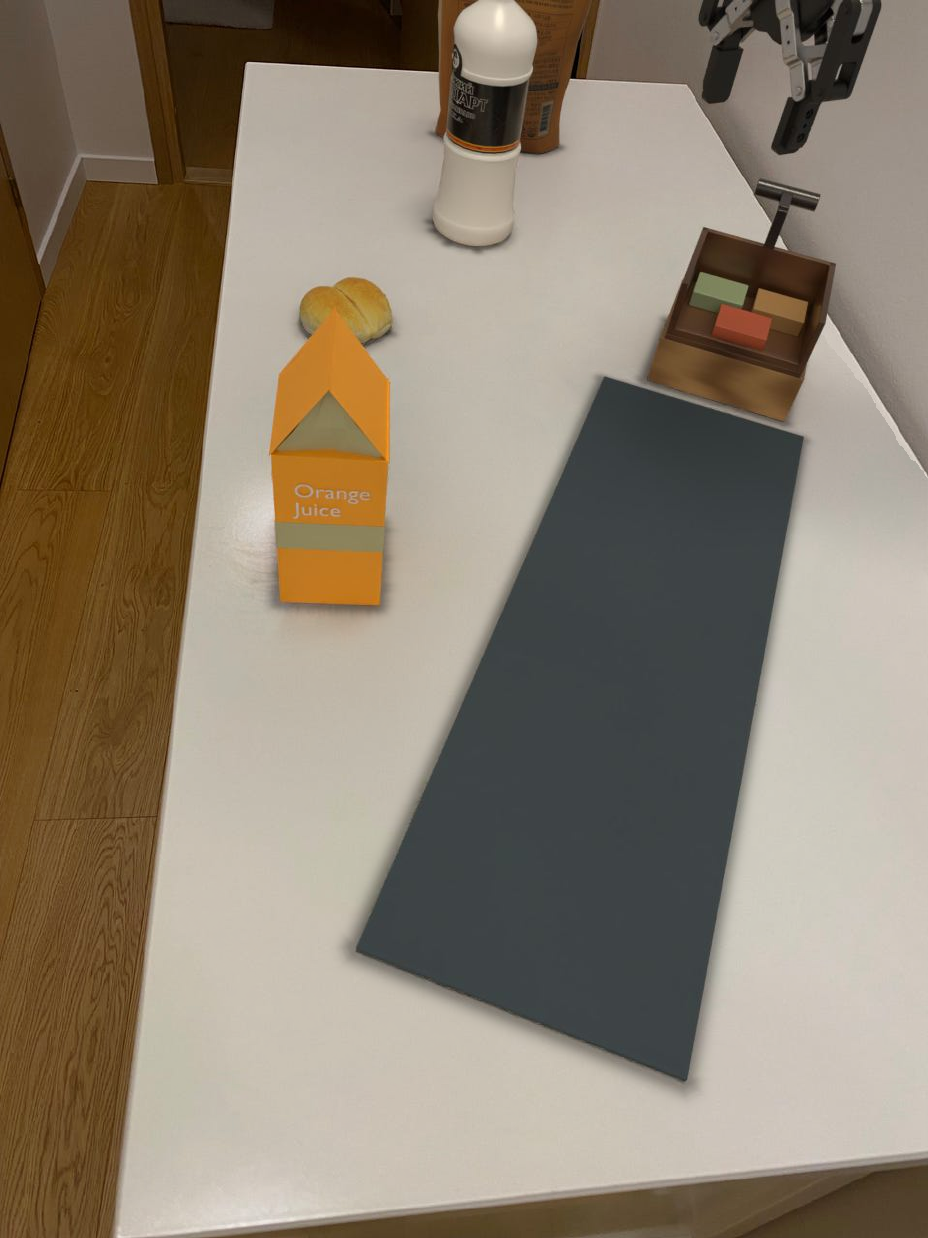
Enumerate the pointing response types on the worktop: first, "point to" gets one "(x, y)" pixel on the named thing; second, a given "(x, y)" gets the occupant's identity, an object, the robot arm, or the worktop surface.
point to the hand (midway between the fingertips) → (747, 125)
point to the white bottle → (484, 122)
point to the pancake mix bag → (559, 21)
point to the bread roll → (349, 307)
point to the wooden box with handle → (758, 271)
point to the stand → (723, 378)
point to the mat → (605, 738)
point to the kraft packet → (781, 311)
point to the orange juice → (330, 470)
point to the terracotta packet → (742, 327)
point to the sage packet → (717, 293)
